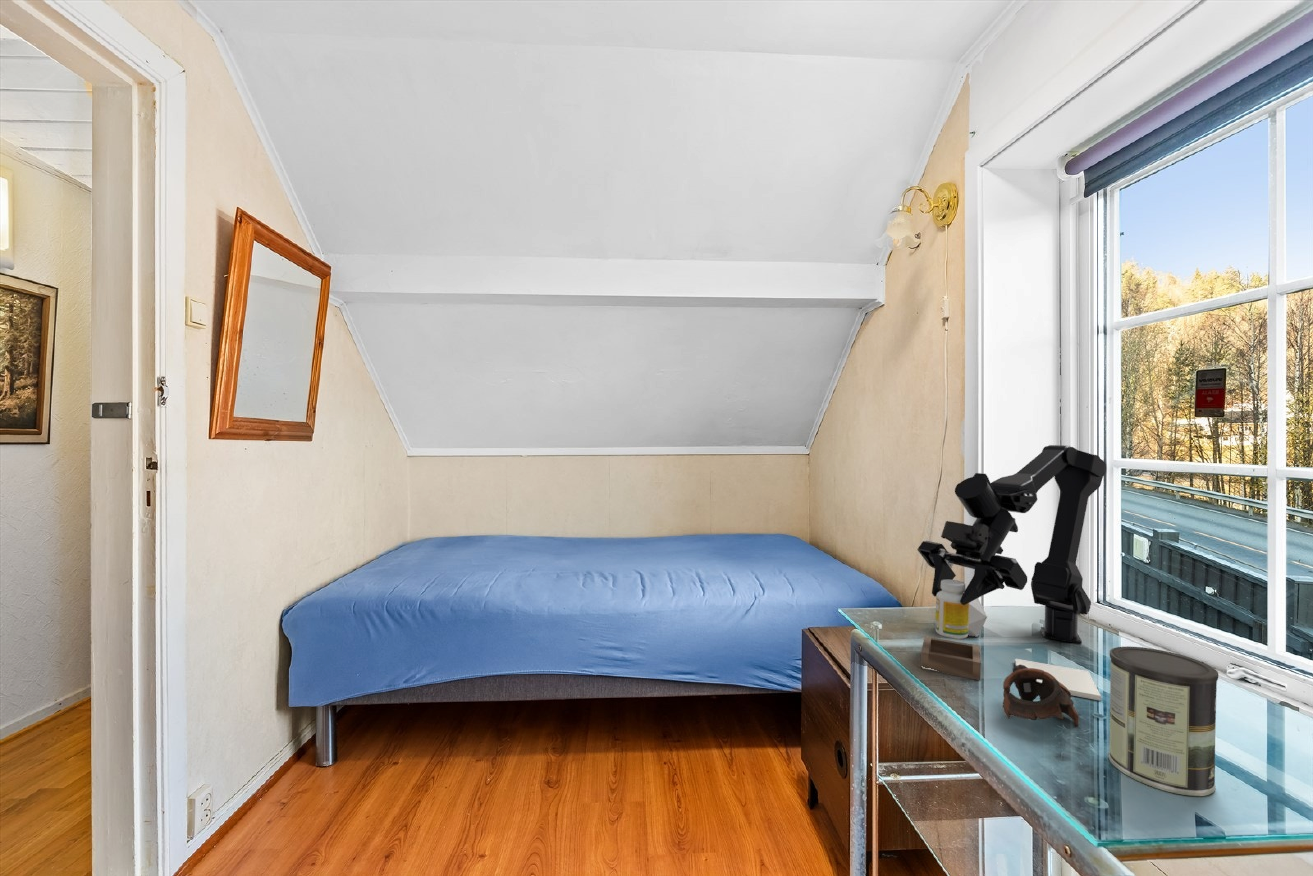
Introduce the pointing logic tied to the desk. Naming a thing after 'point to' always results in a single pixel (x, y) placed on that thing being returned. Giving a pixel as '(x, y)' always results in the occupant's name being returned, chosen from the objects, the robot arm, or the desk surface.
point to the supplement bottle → (951, 610)
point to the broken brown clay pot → (1049, 691)
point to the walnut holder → (951, 657)
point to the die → (976, 618)
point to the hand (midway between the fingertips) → (947, 599)
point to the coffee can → (1163, 719)
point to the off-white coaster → (1068, 678)
